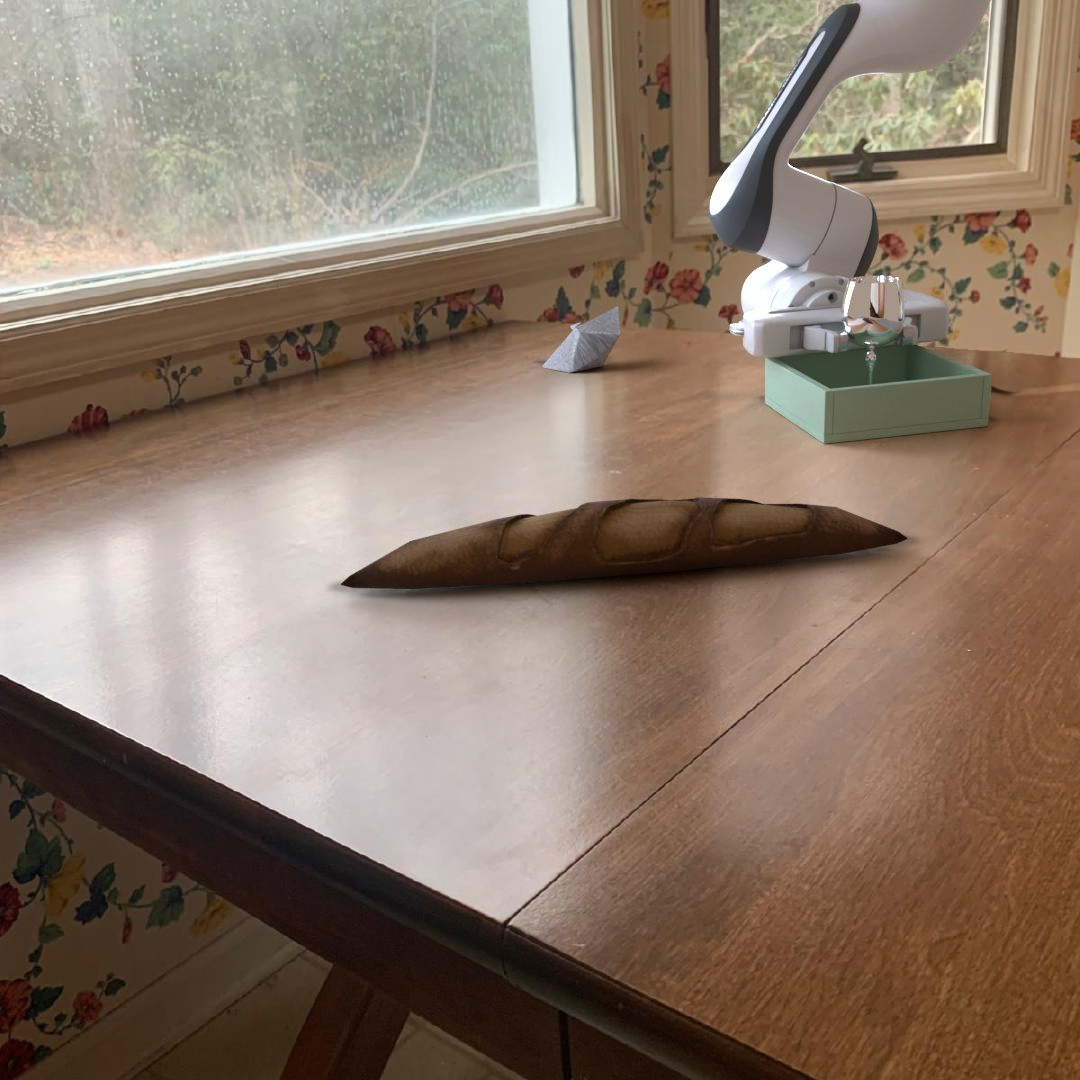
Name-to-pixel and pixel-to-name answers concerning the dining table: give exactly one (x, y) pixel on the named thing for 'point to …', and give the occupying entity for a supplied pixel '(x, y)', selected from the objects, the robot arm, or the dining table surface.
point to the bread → (623, 542)
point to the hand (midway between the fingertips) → (876, 340)
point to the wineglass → (873, 314)
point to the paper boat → (587, 344)
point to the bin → (877, 393)
